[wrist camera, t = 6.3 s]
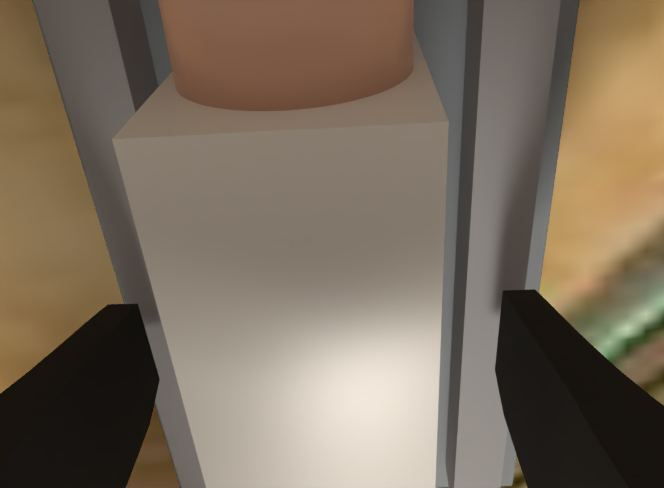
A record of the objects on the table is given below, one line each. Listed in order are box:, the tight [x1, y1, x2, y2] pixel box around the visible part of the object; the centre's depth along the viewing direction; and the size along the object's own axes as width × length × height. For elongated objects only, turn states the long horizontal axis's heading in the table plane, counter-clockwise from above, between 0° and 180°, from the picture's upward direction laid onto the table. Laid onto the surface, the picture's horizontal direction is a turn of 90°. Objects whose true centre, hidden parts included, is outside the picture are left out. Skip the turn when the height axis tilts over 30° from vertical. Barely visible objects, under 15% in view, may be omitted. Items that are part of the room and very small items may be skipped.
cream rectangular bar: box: [112, 0, 449, 488], centre depth 12 cm, size 13×4×5 cm, turn 4°
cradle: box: [32, 0, 579, 488], centre depth 14 cm, size 16×10×2 cm, turn 4°
